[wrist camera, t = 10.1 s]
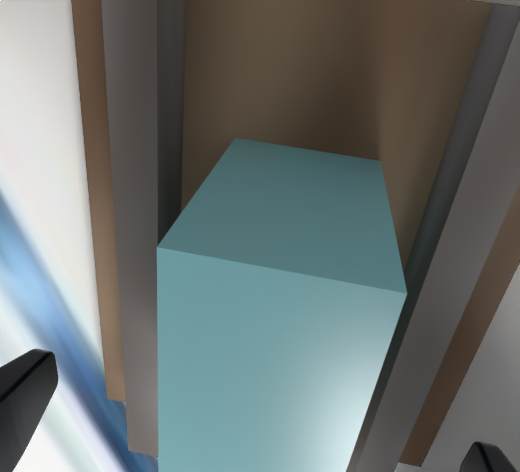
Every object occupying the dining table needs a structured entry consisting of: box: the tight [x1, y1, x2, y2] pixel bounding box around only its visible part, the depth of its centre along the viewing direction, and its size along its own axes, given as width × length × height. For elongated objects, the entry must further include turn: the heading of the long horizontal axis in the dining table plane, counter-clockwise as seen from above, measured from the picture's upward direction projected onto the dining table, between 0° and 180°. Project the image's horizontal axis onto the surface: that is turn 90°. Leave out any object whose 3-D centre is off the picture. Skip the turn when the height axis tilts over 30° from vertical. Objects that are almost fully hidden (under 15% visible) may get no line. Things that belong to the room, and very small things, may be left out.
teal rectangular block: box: [157, 138, 407, 472], centre depth 12 cm, size 4×8×6 cm, turn 175°
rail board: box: [71, 0, 520, 472], centre depth 14 cm, size 13×16×3 cm
